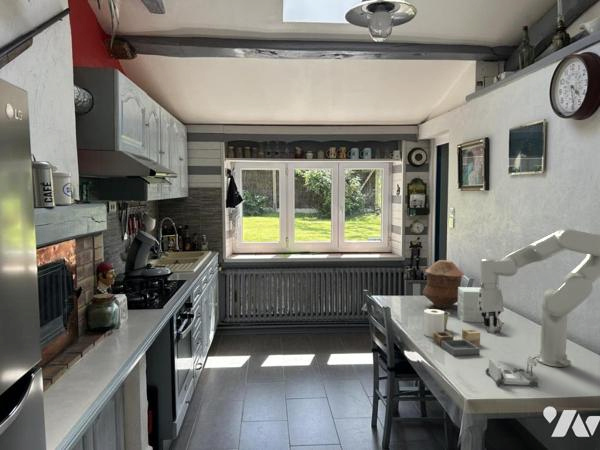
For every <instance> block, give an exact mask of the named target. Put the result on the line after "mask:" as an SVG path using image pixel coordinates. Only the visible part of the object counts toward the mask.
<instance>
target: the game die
mask: <svg viewBox="0 0 600 450" xmlns="http://www.w3.org/2000/svg"><path fill="white" fill-rule="evenodd" d="M503 324H504V322H502V321H501V320H500V318H499V317H498V318H497V326H496V327H495V326H494V332H501V329H502V328H501V327H502V326H503Z"/></svg>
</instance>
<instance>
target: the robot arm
mask: <svg viewBox="0 0 600 450" xmlns="http://www.w3.org/2000/svg"><path fill="white" fill-rule="evenodd" d="M564 251H571V252H576V253H580V254H585V255H586V256H585V258H583V260H582V261H581V262H580V263H579V264H578V265H577V266H575V267H574V268H573V269H572V270H571V271H570V272H569V273H568V274H566V275H565V276H564V277H563V279H562V283H561V284H562V285H561V286H560V287H559V288H558V289H556V288H552V289H551V288H550V289H547V290H546V291H545V292H544V293H543V294H542V297H541V330H540V331H541V332H540V351H539V354H537V355H536V356H535V357H536V358H535V361H536V362H537V363H540V364H543V365H545V366H550V367H557V368H565V367H568V366H570V364H571V363H572V362H571V360H569V359H568V355H567V337H568V336H567V333H568V331H567V330H568V315H569V314H570V313H572V312H573V311H574V310H575V309H577V307H578V306H580V305H581V304H582V303H583V302H584V301H586V300H587V299H588V298H589V297H590V295H591V294H592V292H593V288H594V287H593V284H594V282H596V281H597V280H598V279H599V278H600V233H590V232H585V231H580V230H575V229H574V228H570V227H564V228H561V229H558V230H557V231H555V232H553V233H551V234H549V235H547V236H544V237H543V238H540V239H539V240H536V241H534V242H533V243H530V244H528V245H526V246H524V247H522V248H520V249H518V250H516V251H514V252H511V253H509V254H508V255H506V256H504V257H503V258H501V259H500V260H498V259H496V258H490V257H489V258H482V259H481V260H480V283H479V284H478V287H480V288H481V289H480V290H479V296H478V309H477V311H476V312H477V313H479V314H481V315H482V316H483V317H484V322H483V325H484V326H485V327H486V328H487V327H490V319H489V318H488V316H489V312H494V326H495V327H496V326H497V318H499V315H500V314H502V313H503V312H505V308H504V298H503V291H502V289H501V288H500V278H499V277H500V276H501V277H502V276H503V277H513V276H516V274H517V273H518V271H519V269H521V268H523V267H525V266H527V265H530V264H534V263H538V262H543V261H544V262H545V261H546V260H549V259H550V258H552V257H554V256H557V255H558V254H560V253H562V252H564ZM481 310H482V311H483V312H481Z"/></svg>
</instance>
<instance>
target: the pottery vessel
mask: <svg viewBox="0 0 600 450" xmlns="http://www.w3.org/2000/svg"><path fill="white" fill-rule="evenodd" d="M424 272H425V273H427V277H426V278H427V279H426V280H427V281H426V285H425V286H424V288H423V290H422V294H423V295H424V297H426V299H427V300H429V301H430V302H431V303H432V304H433V305H434V307H436V308H438V309H450V308H451V307H452V306H453V305H455V304H457V303H458V287H461V285H462V284H461V283H462V277H464V275H465V274H464V272H463V271H461V269H460V268H459V267H458V266H457V265H456V264H455V263H454V262H453V261H452V260H445V259H439V260H437V261H435V262H434V263H433V264H432V265H430V267H428V268H426V269H425V271H424Z"/></svg>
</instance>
